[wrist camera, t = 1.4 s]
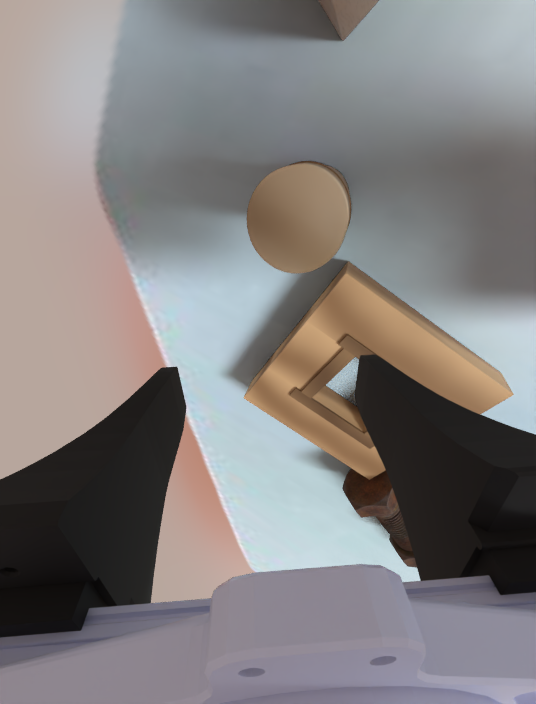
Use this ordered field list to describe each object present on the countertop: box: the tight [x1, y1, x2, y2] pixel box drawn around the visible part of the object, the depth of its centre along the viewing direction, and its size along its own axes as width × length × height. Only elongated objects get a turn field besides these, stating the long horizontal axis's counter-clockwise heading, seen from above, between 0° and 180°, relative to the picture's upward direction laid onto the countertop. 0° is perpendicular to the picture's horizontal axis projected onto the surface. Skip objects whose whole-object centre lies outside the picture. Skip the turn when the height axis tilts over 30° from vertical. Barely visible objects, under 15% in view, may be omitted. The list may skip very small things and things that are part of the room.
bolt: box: [343, 468, 417, 567], centre depth 32 cm, size 6×5×15 cm
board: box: [244, 261, 514, 480], centre depth 25 cm, size 14×14×3 cm
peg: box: [247, 161, 351, 273], centre depth 17 cm, size 4×4×8 cm
